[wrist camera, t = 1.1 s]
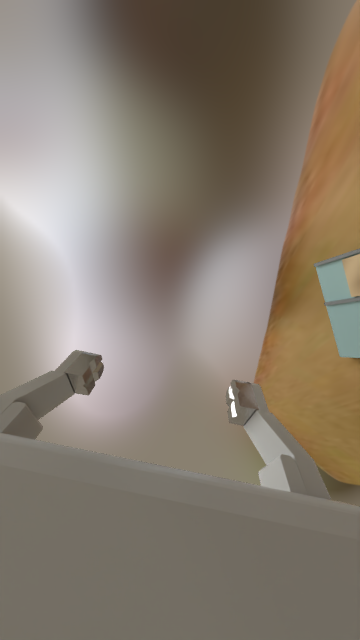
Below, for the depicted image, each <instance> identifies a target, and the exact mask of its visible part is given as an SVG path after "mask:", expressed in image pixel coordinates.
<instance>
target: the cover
mask: <svg viewBox="0 0 360 640" xmlns="http://www.w3.org/2000/svg"><path fill="white" fill-rule="evenodd" d="M342 263H343V267H344V271H345V275H346V278H347V282H348V286H349V290H350V294H351V297H356V296H360V254H358V255H355V256H352V257H349V258H345V259H342Z"/></svg>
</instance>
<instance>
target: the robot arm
mask: <svg viewBox="0 0 360 640" xmlns="http://www.w3.org/2000/svg"><path fill="white" fill-rule="evenodd" d="M101 360H102V356H101V355H97V354H93V353H88V352H84V351H79V350H75V351H73V352H72V353H71V354H70V355H69V356H68V358H67V359H66V360H65V361H64V362H63V363H62V364H61V365H60V366H59V367H58V368H57V369H56V370H55V371H51V372H48V373H46V374H44V375H42V376H40V377H38V378H35V379H33V380H31V381H29V382H27V383H25V384H23V385H21V386H18V387H16V388H14V389H12V390H10V391H8V392H6V393H4V394H1V395H0V640H360V506H358V505H353V504H348V503H342V502H338V501H333V500H331V498H330V496H329V493H328V491H327V489H326V486H325V484H324V482H323V480H322V478H321V475H320V473H319V471H318V469H317V466H316V464H315V462H314V460H313V459H312V458H311V456H310V455H309V454H308V453H307V452H306V451H305V450H304V449H303V447H302V446H301V445H300V444H299V443H298V442H297V441H296V440H295V438H294V437H293V436H292V435H291V434H290V433H289V432H288V431H287V429H286V428H285V427H284V426H283V425H282V424H281V423H280V422H279V420H278V419H277V418H276V417H275V416H274V415H273V414H272V413H269V410H268V407H267V404H266V401H265V398H264V396H263V393H262V390H261V387H260V385H259V384H254V383H249V382H243V381H238V380H232V382H231V387H229V388H228V390H227V393H226V401H227V405H228V406H229V407H230V408H229V409H228V418H229V423H232V424H237V425H241V426H244V428H245V430H246V432H247V433H248V435H249V436H250V438H251V440H252V442H253V443H254V445H255V446H256V448H257V450H258V452H259V453H260V455H261V456H262V458H263V460H264V462H265V463H266V466H265V467H264V468H262V469H261V470H260V471H259V478H260V483H261V486H259V485H254V484H250V483H245V482H240V481H235V480H230V479H225V478H220V477H215V476H210V475H206V474H200V473H196V472H191V471H186V470H181V469H176V468H171V467H166V466H161V465H157V464H152V463H147V462H142V461H137V460H132V459H127V458H122V457H117V456H112V455H107V454H103V453H97V452H93V451H88V450H83V449H78V448H73V447H68V446H63V445H58V444H53V443H48V442H44V441H39V440H35V439H36V438H37V436H38V435H39V433H40V432H41V431H42V429H43V426H42V425H41V423H40V422H39V421H38V420H39V419H40V418H41V417H43V416H44V415H46V414H47V413H48V412H50V411H51V410H53V409H54V408H55V407H57V406H58V405H60V404H61V403H62V402H64V401H65V400H67V399H68V398H69V397H71V396H72V395H74V393H77V394H83V395H89V394H90V393H91V391H92V389H93V388H94V386H95V381H97V380H98V379H99V378H100V377H101V375H102V373H103V369H104V366H103V363H102V362H101Z"/></svg>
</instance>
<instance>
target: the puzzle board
mask: <svg viewBox="0 0 360 640" xmlns="http://www.w3.org/2000/svg"><path fill="white" fill-rule="evenodd" d="M358 254H360V249H357V250H354V251H351V252H348V253H345V254H342V255H339V256H336V257H333V258H330V259H327V260H324V261H321V262H318V263H315V264H314V267H316V270H317V273H318V277H319V281H320V284H321V288H322V292H323V296H324V299H325V303H324V304H325V306H326V307H327V310H328V314H329V318H330V322H331V325H332V329H333V333H334V336H335V340H336V344H337V347H338V351H339V355H340V357H352V358H360V296H356V297H351V294H350V290H349V286H348V282H347V278H346V275H345V271H344V267H343V263H342V259H345V258H349V257H352V256H355V255H358Z"/></svg>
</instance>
